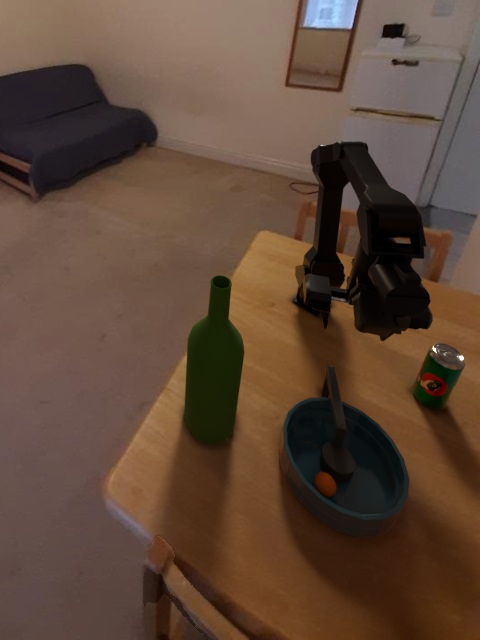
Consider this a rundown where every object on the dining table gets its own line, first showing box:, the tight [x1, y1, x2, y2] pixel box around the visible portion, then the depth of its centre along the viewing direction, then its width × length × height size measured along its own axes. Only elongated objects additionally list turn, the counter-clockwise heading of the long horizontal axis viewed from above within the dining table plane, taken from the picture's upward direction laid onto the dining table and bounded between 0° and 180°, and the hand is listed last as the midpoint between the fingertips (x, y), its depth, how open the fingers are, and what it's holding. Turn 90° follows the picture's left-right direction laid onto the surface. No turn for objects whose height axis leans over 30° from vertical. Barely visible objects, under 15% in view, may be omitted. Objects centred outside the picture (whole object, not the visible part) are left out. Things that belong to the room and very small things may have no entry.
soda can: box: [412, 342, 466, 410], centre depth 72 cm, size 5×5×12 cm
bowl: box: [278, 396, 410, 538], centre depth 64 cm, size 17×17×6 cm
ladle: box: [319, 365, 356, 483], centre depth 68 cm, size 16×5×7 cm, turn 162°
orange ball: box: [314, 472, 336, 497], centre depth 61 cm, size 3×3×3 cm
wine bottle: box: [183, 274, 245, 446], centre depth 66 cm, size 9×9×32 cm
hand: (352, 333), depth 73 cm, fingers open, 9 cm apart
